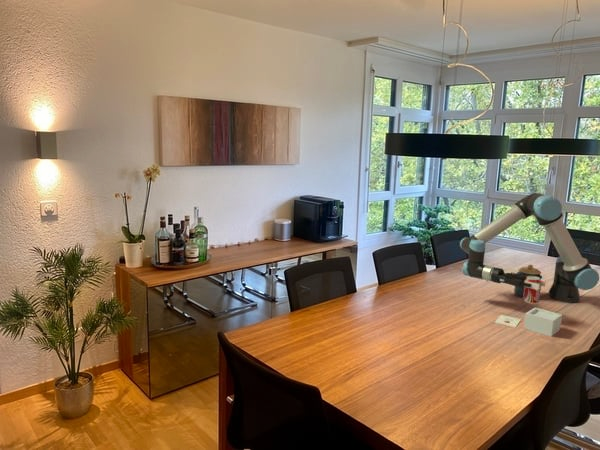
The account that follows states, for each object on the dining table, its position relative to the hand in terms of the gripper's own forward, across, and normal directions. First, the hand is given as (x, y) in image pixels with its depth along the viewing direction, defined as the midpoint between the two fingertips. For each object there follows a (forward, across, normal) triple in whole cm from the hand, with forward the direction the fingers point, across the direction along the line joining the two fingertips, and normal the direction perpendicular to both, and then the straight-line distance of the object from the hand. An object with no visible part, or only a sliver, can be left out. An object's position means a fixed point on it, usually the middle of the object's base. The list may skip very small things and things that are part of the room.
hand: (542, 285), depth 215 cm
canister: (-18, -35, -18) cm, 43 cm away
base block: (+5, +9, -18) cm, 20 cm away
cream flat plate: (-9, +12, -17) cm, 23 cm away
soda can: (-4, 0, -9) cm, 10 cm away
